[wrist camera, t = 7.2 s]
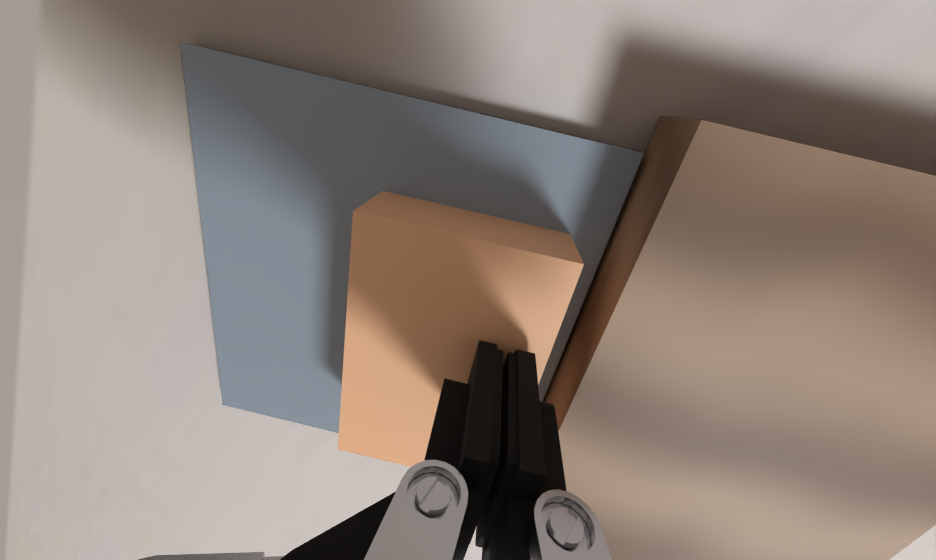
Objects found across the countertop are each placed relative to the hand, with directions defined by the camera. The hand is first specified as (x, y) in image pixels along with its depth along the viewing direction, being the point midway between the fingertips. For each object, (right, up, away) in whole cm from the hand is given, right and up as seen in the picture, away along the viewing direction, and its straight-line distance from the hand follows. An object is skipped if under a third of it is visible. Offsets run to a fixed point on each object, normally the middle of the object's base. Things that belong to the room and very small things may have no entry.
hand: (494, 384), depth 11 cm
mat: (-4, +2, +3) cm, 5 cm away
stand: (+9, -1, +3) cm, 10 cm away
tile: (-2, +1, +1) cm, 2 cm away
